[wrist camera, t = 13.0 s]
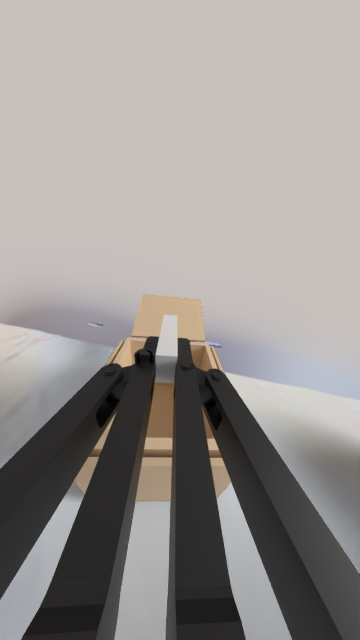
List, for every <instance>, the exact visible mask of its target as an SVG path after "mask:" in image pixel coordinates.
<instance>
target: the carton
mask: <svg viewBox="0 0 360 640" xmlns="http://www.w3.org/2000/svg"><path fill="white" fill-rule="evenodd" d="M145 342H146V339H140V338H127V339H126V341H125V343H124V340H121V341H120V343H119V344H118V346H117V347H116V349H115V350H114V352H113V354H112V355H111V357H110V358H109V360H108V361H107V363H106V364H105V365H108V364H111V363H117V364H119V365H121V367H126V366H130V365H133V364H135V357H134V354H135V352H136V351H138V350H139V349H143V347H144V344H145ZM190 346H191V353H192V360H193V363H194V364H195V366H196V367H197V368H199V369H201V370H204V371H208V370H209V369H211V368H216V369H219V370H221V371H222V372H223V373H224V371H223V369H222V366H221V364H220V361H219V359H218V356H217V354H216V351H215V349H214V346H211V348H210V346H209V344H208V343H197V342H190ZM173 393H174V383H159V382H155V383H154V393H153V399H152V405H151V411H150V417H149V423H148V429H147V435H146V441H145V447H144V453H143V459H142V465H141V471H140V477H139V482H138V488H137V494H136V500H135V501H171V472H172V436H173V400H174V397H173ZM202 411H203V417H204V423H205V430H206V436H207V442H208V449H209V455H210V461H211V467H212V474H213V480H214V486H215V492H216V499H217V498H218V497H219V495H220V494H221V493H222V492H223V491H224V490H225V489H226V487H227V486H228V485H229V484H230V483H231V480H230V477H229V475H228V472H227V470H226V467H225V464H224V462H223V459H222V457H221V454H220V451H219V449H218V446H217V444H216V441H215V439H214V436H213V433H212V431H211V428H210V426H209V423H208V420H207V418H206V415H205V413H204V410H203V408H202ZM115 414H116V413H115ZM114 417H115V415H114ZM114 417H113V418H112V420H111V421H110V423H109V425H108V426H107V428H106V430H105V431H104V433H103V434H102V436H101V438H100V439H99V441H98V442H97V444H96V446H95V447H94V449H93V451H92V452H91V454H90V455H89V457H88V459H87V460H86V462H85V463H84V465H83V467H82V468H81V470H80V472H79V473H78V475H77V476H76V478H75V480H74V482H75V483H76V484H77V486H78V487H79V488H80V489H81V491H82V492H83V493H84V494H85V492H86V490H87V487H88V485H89V482H90V479H91V477H92V474H93V472H94V469H95V466H96V464H97V461H98V458H99V456H100V453H101V451H102V448H103V445H104V443H105V440H106V438H107V435H108V432H109V430H110V427H111V425H112V422H113V419H114Z"/></svg>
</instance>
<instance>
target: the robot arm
mask: <svg viewBox="0 0 360 640" xmlns="http://www.w3.org/2000/svg"><path fill="white" fill-rule="evenodd" d="M134 357H135V364H133V365H130V366H126V367H121V365H119V364H117V363H111V364H108V365H105V366H104V367H102V368H101V369H100V370H99V371H98V372H97V373H96V374H95V375H94V376H93V377H92V378H91V379H90V380H89V381H88V382H87V383H86V384H85V385H84V386H83V387H82V388H81V389H80V390H79V391H78V392H77V393H76V394H75V395H74V396H73V397H72V398H71V399H70V400H69V401H68V402H67V403H66V404H65V405H64V406H63V407H62V408H61V409H60V410H59V411H58V412H57V413H56V414H55V415H54V416H53V417H52V418H51V419H50V420H49V421H48V422H47V423H46V424H45V425H44V426H43V427H42V428H41V429H40V430H39V431H38V432H37V433H36V434H35V435H34V436H33V437H32V438H31V439H30V440H29V441H28V442H27V443H26V444H25V445H24V446H23V447H22V448H21V449H20V450H19V451H18V452H17V453H16V454H15V455H14V456H13V457H12V458H11V459H10V460H9V461H8V462H7V463H6V464H5V465H4V466H3V467H2V468H1V469H0V599H1V598H2V596H3V594H4V593H5V591H6V590H7V588H8V586H9V585H10V583H11V581H12V580H13V578H14V577H15V575H16V573H17V572H18V570H19V569H20V567H21V565H22V564H23V562H24V560H25V559H26V557H27V556H28V554H29V552H30V551H31V549H32V548H33V546H34V544H35V543H36V541H37V539H38V538H39V536H40V535H41V533H42V531H43V530H44V528H45V527H46V525H47V523H48V522H49V520H50V518H51V517H52V515H53V514H54V512H55V510H56V509H57V507H58V506H59V504H60V502H61V501H62V499H63V497H64V496H65V494H66V493H67V491H68V489H69V488H70V486H71V485H72V483H73V481H74V480H75V478H76V476H77V475H78V473H79V472H80V470H81V468H82V467H83V465H84V463H85V462H86V460H87V459H88V457H89V455H90V454H91V452H92V451H93V449H94V447H95V446H96V444H97V442H98V441H99V439H100V438H101V436H102V434H103V433H104V431H105V430H106V428H107V426H108V425H109V423H110V421H111V420H112V418H113V417H114V415H115V417H114V419H113V422H112V425H111V427H110V430H109V432H108V435H107V438H106V440H105V443H104V445H103V448H102V451H101V453H100V456H99V458H98V461H97V464H96V466H95V469H94V472H93V474H92V477H91V479H90V482H89V485H88V487H87V490H86V492H85V495H84V498H83V500H82V503H81V505H80V508H79V511H78V513H77V516H76V518H75V521H74V524H73V526H72V529H71V531H70V534H69V537H68V539H67V542H66V544H65V547H64V550H63V552H62V555H61V558H60V560H59V563H58V565H57V568H56V571H55V573H54V576H53V578H52V581H51V583H50V586H49V588H48V591H47V593H46V595H45V597H44V600H43V602H42V604H41V606H40V608H39V610H38V611H37V613H36V615H35V616H34V618H33V620H32V622H31V623H30V625H29V627H28V628H27V630H26V632H25V634H24V635H23V637H22V639H21V640H114V637H115V630H116V624H117V616H118V609H119V599H120V591H121V584H122V578H123V572H124V566H125V560H126V554H127V548H128V542H129V536H130V530H131V524H132V518H133V512H134V506H135V500H136V494H137V488H138V482H139V477H140V471H141V465H142V459H143V453H144V447H145V441H146V435H147V429H148V423H149V417H150V411H151V405H152V399H153V393H154V383H155V382H159V383H174V393H173V397H174V400H173V436H172V472H171V508H170V544H169V579H168V599H167V618H166V640H246V639H245V635H244V631H243V627H242V622H241V619H240V616H239V613H238V610H237V607H236V604H235V601H234V598H233V593H232V589H231V585H230V579H229V574H228V568H227V561H226V555H225V549H224V543H223V536H222V530H221V524H220V518H219V511H218V505H217V499H216V492H215V486H214V480H213V474H212V467H211V461H210V455H209V449H208V442H207V436H206V430H205V423H204V417H203V411H202V408H203V410H204V413H205V415H206V418H207V420H208V423H209V426H210V428H211V431H212V433H213V436H214V439H215V441H216V444H217V446H218V449H219V451H220V454H221V457H222V459H223V462H224V464H225V467H226V470H227V472H228V475H229V477H230V480H231V482H232V485H233V488H234V490H235V493H236V495H237V498H238V501H239V503H240V506H241V508H242V511H243V513H244V516H245V519H246V521H247V524H248V526H249V529H250V532H251V534H252V537H253V539H254V542H255V544H256V547H257V550H258V552H259V555H260V557H261V560H262V562H263V565H264V568H265V570H266V573H267V575H268V578H269V581H270V583H271V586H272V588H273V591H274V593H275V596H276V599H277V601H278V604H279V606H280V609H281V612H282V614H283V617H284V619H285V622H286V624H287V627H288V630H289V632H290V635H291V637H292V640H360V574H359V573H358V571H357V570H356V568H355V567H354V565H353V564H352V562H351V561H350V559H349V558H348V556H347V555H346V553H345V552H344V551H343V549H342V548H341V546H340V545H339V543H338V542H337V540H336V539H335V537H334V536H333V534H332V533H331V531H330V530H329V528H328V527H327V525H326V524H325V522H324V521H323V519H322V518H321V516H320V515H319V513H318V512H317V510H316V509H315V507H314V506H313V504H312V503H311V501H310V500H309V498H308V497H307V496H306V494H305V493H304V491H303V490H302V488H301V487H300V485H299V484H298V482H297V481H296V479H295V478H294V476H293V475H292V473H291V472H290V470H289V469H288V467H287V466H286V464H285V463H284V461H283V460H282V458H281V457H280V455H279V454H278V452H277V451H276V449H275V448H274V446H273V445H272V443H271V442H270V441H269V439H268V438H267V436H266V435H265V433H264V432H263V430H262V429H261V427H260V426H259V424H258V423H257V421H256V420H255V418H254V417H253V415H252V414H251V412H250V411H249V409H248V408H247V406H246V405H245V403H244V402H243V400H242V399H241V397H240V396H239V394H238V393H237V391H236V390H235V388H234V387H233V386H232V384H231V383H230V381H229V380H228V378H227V377H226V375H225V374H224V373H223V372H222V371H221V370H219V369H216V368H211V369H209V370H208V371H204V370H201V369H199V368H197V367H196V366H195V364H194V363H193V360H192V353H191V346H190V341H189V340H188V339H187V338H177V316H175V315H164V318H163V322H162V327H161V332H160V336H159V337H156V336H149V337H148V338H147V339H146V342H145V344H144V347H143V349H139V350H138V351H136V352H135V354H134ZM115 413H116V414H115Z"/></svg>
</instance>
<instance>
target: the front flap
mask: <svg viewBox="0 0 360 640" xmlns="http://www.w3.org/2000/svg"><path fill="white" fill-rule="evenodd" d="M164 315H175V316H177V338H187V339H188V340H189V341H199V342H205V334H204V325H203V315H202V306H201V300H199V299H188V298H179V297H168V296H158V295H147V294H143V297H142V300H141V304H140V307H139V311H138V314H137V318H136V321H135V324H134V328H133V331H132V335H131V336H132V337H144V338H148V337H149V336H156V337H159V336H160V332H161V327H162V322H163V318H164Z"/></svg>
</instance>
